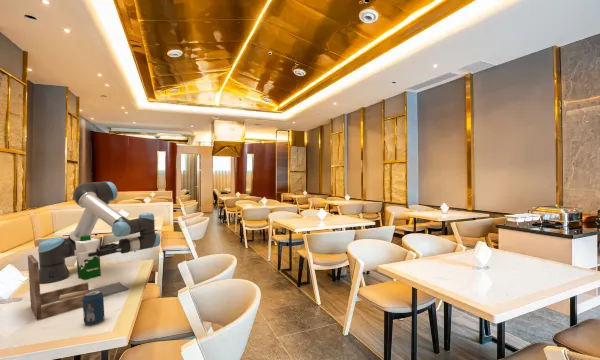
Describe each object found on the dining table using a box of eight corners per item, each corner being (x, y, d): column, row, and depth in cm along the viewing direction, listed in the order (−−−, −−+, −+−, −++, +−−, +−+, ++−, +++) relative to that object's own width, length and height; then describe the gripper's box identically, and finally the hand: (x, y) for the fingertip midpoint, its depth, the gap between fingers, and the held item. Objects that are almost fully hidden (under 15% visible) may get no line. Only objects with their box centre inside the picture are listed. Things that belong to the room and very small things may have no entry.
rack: (87, 291, 155) (85, 245, 154) (98, 302, 141) (96, 251, 141) (30, 307, 139) (27, 255, 138) (37, 320, 125) (33, 263, 125)
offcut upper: (60, 300, 141) (60, 295, 141) (89, 294, 147) (88, 289, 147) (59, 303, 138) (59, 298, 138) (88, 297, 144) (88, 292, 144)
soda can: (102, 316, 127) (100, 287, 127) (106, 321, 123) (105, 292, 122) (82, 322, 122) (80, 293, 122) (86, 328, 118) (84, 297, 117)
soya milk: (95, 272, 153) (93, 233, 153) (103, 275, 149) (101, 235, 148) (75, 278, 146) (72, 237, 145) (83, 281, 141) (81, 239, 141)
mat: (119, 283, 166) (119, 282, 166) (128, 289, 156) (128, 288, 156) (88, 291, 155) (88, 290, 155) (96, 298, 146) (96, 297, 146)
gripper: (136, 255, 153) (82, 266, 136) (122, 249, 168) (72, 258, 151) (135, 240, 152) (81, 250, 136) (121, 235, 167) (71, 243, 151)
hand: (77, 254), depth 144 cm, fingers closed on soya milk, 9 cm apart
